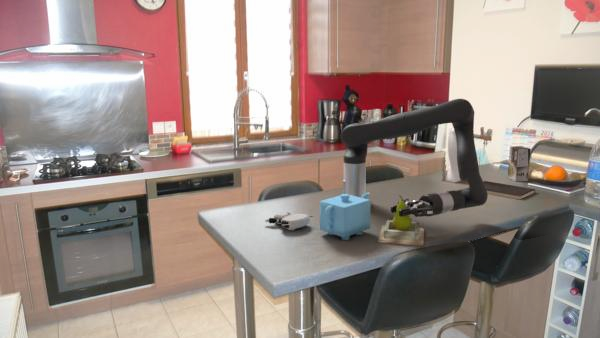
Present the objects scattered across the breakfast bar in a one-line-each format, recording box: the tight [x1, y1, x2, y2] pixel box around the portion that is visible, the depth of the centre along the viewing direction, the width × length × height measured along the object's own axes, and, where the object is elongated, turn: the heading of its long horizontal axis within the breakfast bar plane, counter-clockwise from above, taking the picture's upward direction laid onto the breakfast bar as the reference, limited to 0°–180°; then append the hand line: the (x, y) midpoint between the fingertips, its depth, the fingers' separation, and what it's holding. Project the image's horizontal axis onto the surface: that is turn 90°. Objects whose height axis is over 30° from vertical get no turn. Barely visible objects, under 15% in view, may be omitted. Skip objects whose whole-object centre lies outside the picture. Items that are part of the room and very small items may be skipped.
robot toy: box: [264, 212, 315, 231], centre depth 162 cm, size 12×4×15 cm
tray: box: [378, 219, 425, 246], centre depth 150 cm, size 14×14×4 cm
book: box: [483, 180, 536, 200], centre depth 203 cm, size 16×23×2 cm
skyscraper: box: [441, 125, 462, 184], centre depth 222 cm, size 8×8×28 cm
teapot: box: [319, 191, 371, 241], centre depth 153 cm, size 22×11×14 cm, turn 132°
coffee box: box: [507, 145, 532, 182], centre depth 223 cm, size 9×6×16 cm
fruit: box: [392, 194, 413, 231], centre depth 148 cm, size 6×6×12 cm
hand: (395, 211), depth 147 cm, fingers closed on fruit, 3 cm apart
